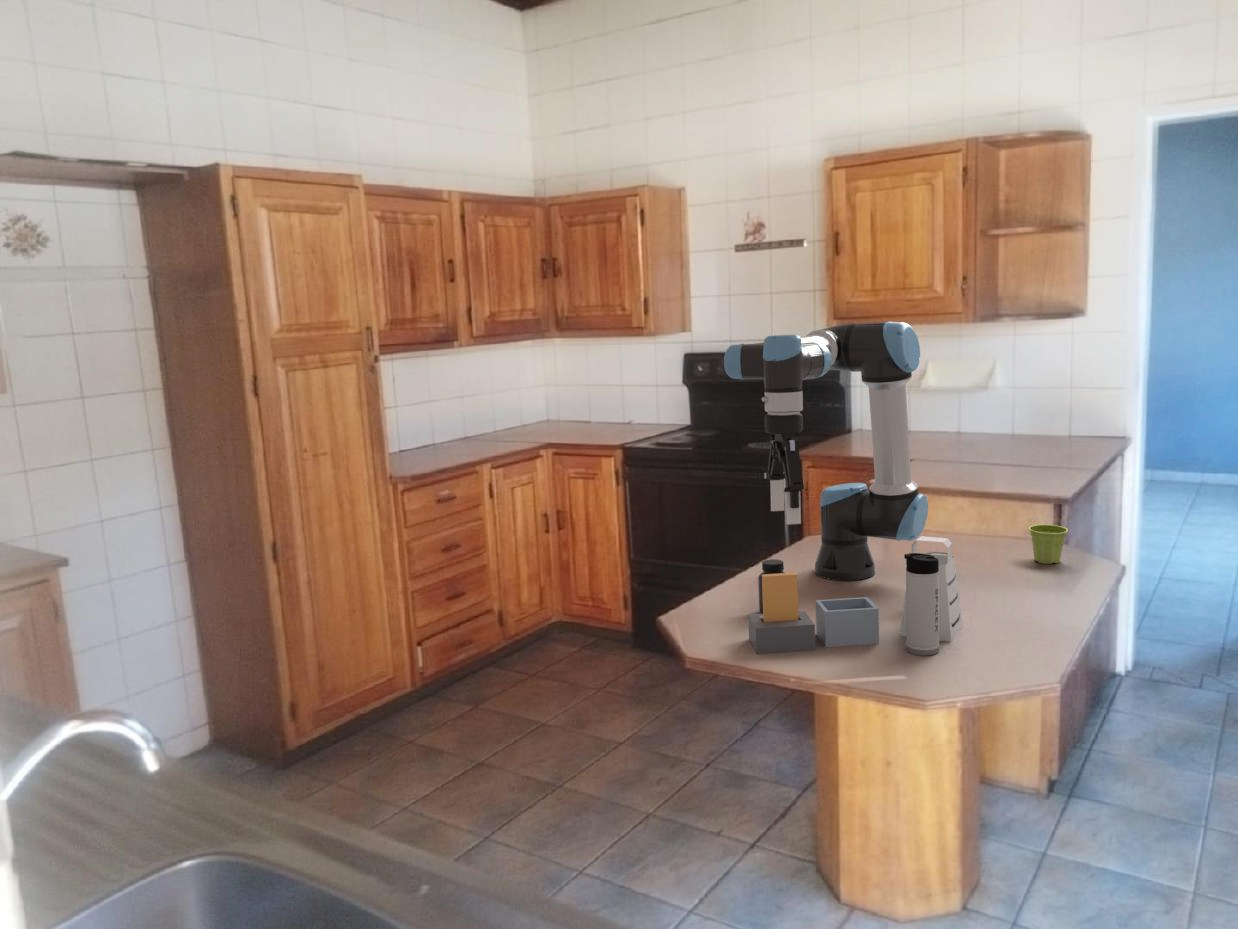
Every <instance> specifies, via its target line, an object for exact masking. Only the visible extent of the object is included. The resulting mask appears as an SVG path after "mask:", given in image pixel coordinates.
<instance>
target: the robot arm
mask: <svg viewBox="0 0 1238 929" xmlns="http://www.w3.org/2000/svg"><path fill="white" fill-rule="evenodd" d="M920 358H921V348H920V342H919V338H918V336H917V334H916V331H915V330H914V328H913V327H912V326H911V325H910V324H908V323H906V322H902V321H901V322H899V321H898V322H897V321H875V322H858V323H855V322H854V323H851V322H850V323H843V324H839V325H835V326H831V327H825V328H822V329H816V330H813V331H810V332H809V333H808V334H806V335H805V336H800V335H799V334H777V335H774V334H773V335H768V336H766V337H765V338H764V339H763V342H757V343H745V344H744V343H739V344H732V345H730V346H729V347H728V348H727V349H726V350H725V353H724V357H723V367H724V368H723V369H724V371H725V373H726V375H727V376H728V377H729V378H730V379H734V380H741V381H744V380H763V383H764V386H763V388H764V391H763V392H764V396H763V397H761V401H762V402H763V403H764V411H765V412H766V413H767V414H765V416H764V431H765V433H767V434H770V435H769V439H770V446H769V454H768V463H767V475H768V476H769V479H770V481H769V482H770V485H769V486H770V512H783V511H785V515H786V517H785V519H786V521H785V522H786V525H787V526H788V525H801V524H802V513H801V509H802V508H801V507H802V505H801V501H802V499H801V491H803V490H804V488H805V485H804V481H803V472H802V465H801V464H802V463H801V458H800V447H799V446H800V445H799V444H800V441H799V439H794V434H799V433H802V431H803V429H804V417H803V414H802V413H801V412H802V411H803V410H804V405H803V404H804V398H803V395H804V394H803V393H804V391H803V381H805V380H816V379H818V378H821V377H824V375H826V373H828V372H829V371H841V372H852V373H853V372H856V373H860V375H861V382H862V383H863V384H865V385H866V386H867V388H868V396H869V398H868V399H869V409H870V411H869V412H870V413H869V414H870V423H871V424H870V426H871V438H872V441H871V442H872V455H873V468H874V469H873V470H874V481H873V483H871V485H870V486H869V489H868V486H867V484H866V483H863V482H851V483H849V482H848V483H841V484H835V485H832V486H828V487H825V488H824V489H823V490H822V491H821V493H820V504H819V508H820V535H821V537H820V538H821V541H820V542H821V543H820V547H819V551H818V554H817V556H816V561H815V564H814V573H815V575H817V576H818V577H820V578H823V577H825V578H824V579H827V578H829V579H828V580H832V579H835V580H834V581H857V580H864V579H868V578H871V577H873V576H874V575H875V574H876V568H875V566H876V565H875V562H874V559H873V556H872V553H871V550H870V547H869V544H868V538H870V537H871V538H878V539H886V540H893V541H894V540H895V541H916V540H917V539H918V538H919V537H920V536H921V534H922V533H923V531H924V529H925V526H926V522H927V521H928V520H927V519H928V515H929V514H928V513H929V500H928V497H927V495H924V494H923V493H919V484H918V483H917V482H915V481H914V480H913V479H912V472H911V471H912V469H911V454H910V453H911V452H910V437H909V435H910V434H909V420H908V419H909V418H908V405H907V404H908V402H907V401H908V399H907V387H906V385H907V383H908V382H909V381H910V380H911V379H912V377H913V376H912V375H913V373H912V372H914V371H916V370H917V369H918V367H919V366H920ZM784 479H785V480H784ZM785 484H786V486H785Z"/></svg>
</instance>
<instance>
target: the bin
mask: <svg viewBox="0 0 1238 929" xmlns="http://www.w3.org/2000/svg"><path fill="white" fill-rule="evenodd" d="M879 611H880V608H879V607H878V606H877V605H876V604H875V603H874V602H873V601H872V600H871V599H870V598H868V596H864V597H863V596H862V597H848V598H847V597H845V598H834V599H833V598H831V599H816V600H815V635H816V636H817V637H818V638H819V640H820V641H821V643H822V644H823V645H824V646H825V648H829V647H830V648H831V647H832V648H833V647H846V646H847V647H848V646H864V645H878V644H880V622H879V620H880V617H879V614H880V612H879Z"/></svg>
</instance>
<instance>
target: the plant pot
mask: <svg viewBox="0 0 1238 929" xmlns="http://www.w3.org/2000/svg"><path fill="white" fill-rule="evenodd" d="M1028 531H1030V536H1031V541H1032V550H1033V559H1034V561H1035V562H1038V563H1040V564H1045V565H1046V564H1048V565H1049V564H1050V565H1051V564H1054V563H1055V564H1058V563H1060V562H1061V557H1062V554H1063V553H1062V551H1063V546H1064V541H1065V538H1066V536H1067V533H1068V532H1069V530H1068V528H1067V527H1065V526H1060V525H1056V524H1035V525H1034V524H1033V525H1030V526H1029V527H1028Z"/></svg>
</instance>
